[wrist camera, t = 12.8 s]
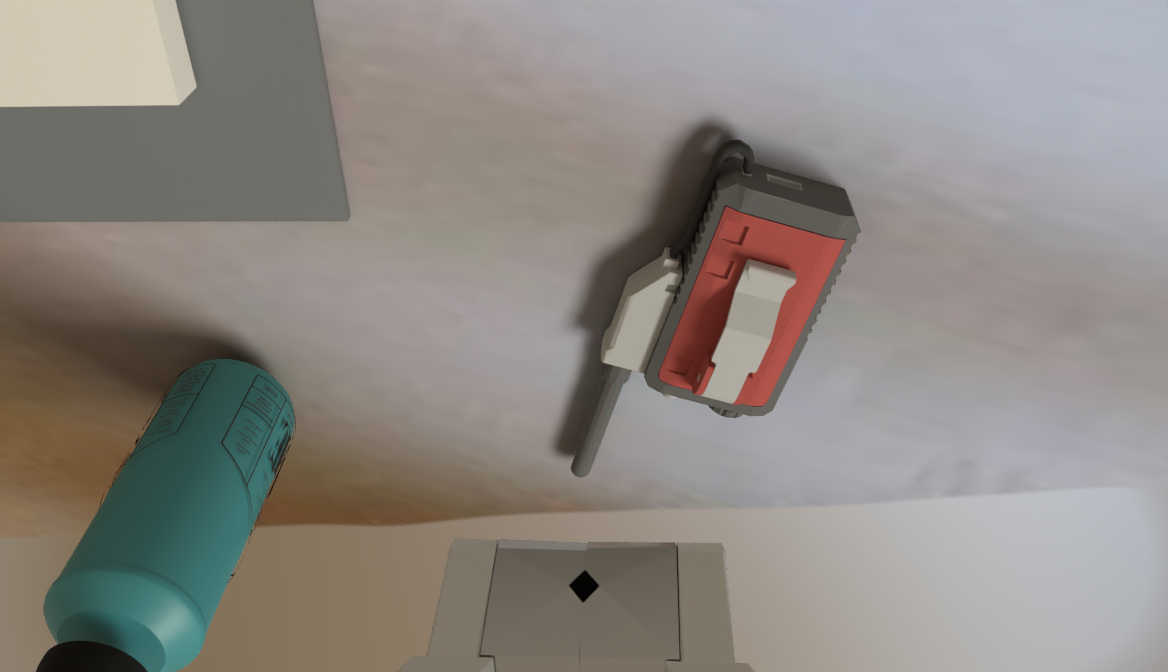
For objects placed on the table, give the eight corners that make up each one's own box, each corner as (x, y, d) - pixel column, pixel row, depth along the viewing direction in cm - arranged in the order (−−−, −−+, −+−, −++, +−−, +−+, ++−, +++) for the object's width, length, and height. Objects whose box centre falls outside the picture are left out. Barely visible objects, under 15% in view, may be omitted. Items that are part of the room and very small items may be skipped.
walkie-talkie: (681, 112, 45) (560, 452, 56) (683, 156, 41) (553, 510, 52) (872, 168, 46) (716, 491, 57) (891, 215, 42) (720, 551, 53)
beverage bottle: (169, 335, 52) (-52, 662, 36) (300, 338, 52) (137, 669, 36) (196, 436, 56) (8, 775, 40) (319, 439, 56) (180, 782, 39)
